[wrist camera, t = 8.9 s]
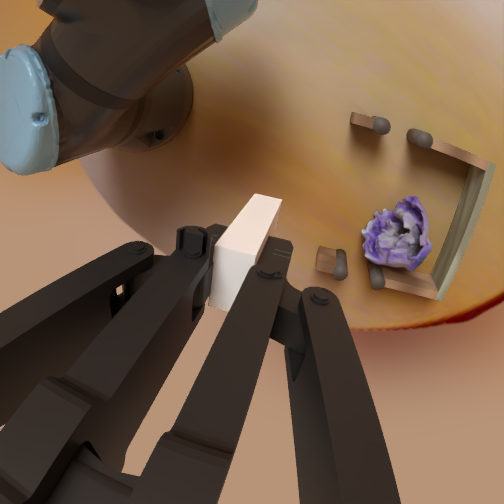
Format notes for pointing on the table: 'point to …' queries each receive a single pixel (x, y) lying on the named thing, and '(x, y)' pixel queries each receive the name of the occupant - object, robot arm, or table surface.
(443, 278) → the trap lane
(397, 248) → the flower
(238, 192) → the table surface
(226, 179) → the table surface
